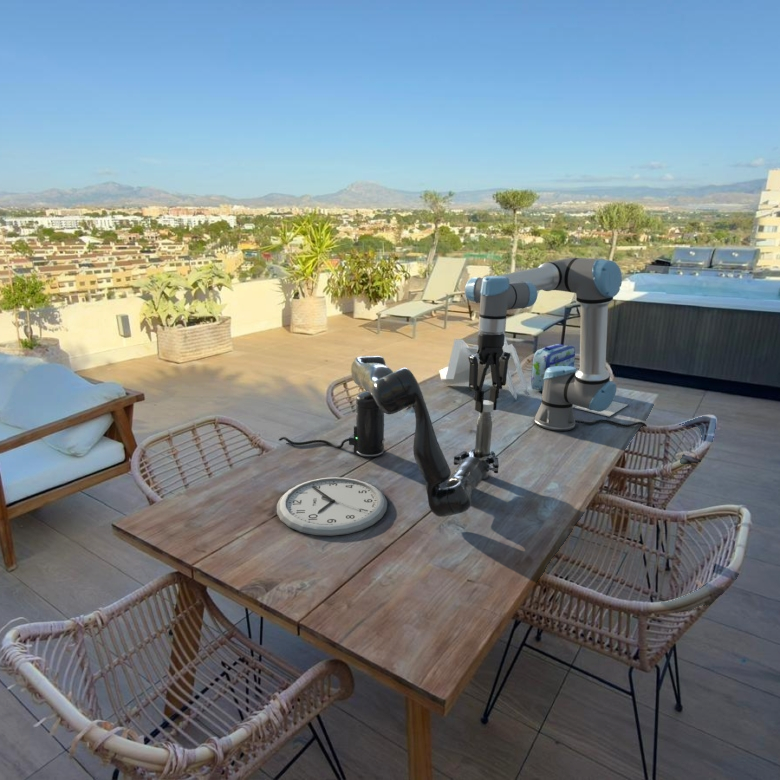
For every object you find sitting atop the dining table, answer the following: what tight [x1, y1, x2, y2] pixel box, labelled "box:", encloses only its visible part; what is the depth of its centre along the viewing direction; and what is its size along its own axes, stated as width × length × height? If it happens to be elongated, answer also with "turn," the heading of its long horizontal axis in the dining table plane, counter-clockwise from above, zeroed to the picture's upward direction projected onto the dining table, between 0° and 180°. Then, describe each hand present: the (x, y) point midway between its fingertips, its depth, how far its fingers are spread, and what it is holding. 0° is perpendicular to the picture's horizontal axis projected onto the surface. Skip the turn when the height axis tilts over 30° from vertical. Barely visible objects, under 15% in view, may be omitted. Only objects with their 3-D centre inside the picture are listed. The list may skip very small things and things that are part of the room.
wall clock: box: [276, 476, 388, 537], centre depth 142 cm, size 30×2×30 cm
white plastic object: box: [438, 333, 531, 400], centre depth 245 cm, size 37×45×31 cm
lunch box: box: [530, 343, 576, 392], centre depth 248 cm, size 26×11×21 cm, turn 134°
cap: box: [483, 399, 494, 413], centre depth 155 cm, size 4×4×2 cm
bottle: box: [474, 412, 493, 480], centre depth 158 cm, size 4×4×23 cm
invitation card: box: [573, 400, 629, 418], centre depth 226 cm, size 21×1×15 cm
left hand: (484, 452), depth 162 cm, fingers closed on bottle, 4 cm apart
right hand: (485, 409), depth 155 cm, fingers closed on cap, 4 cm apart
